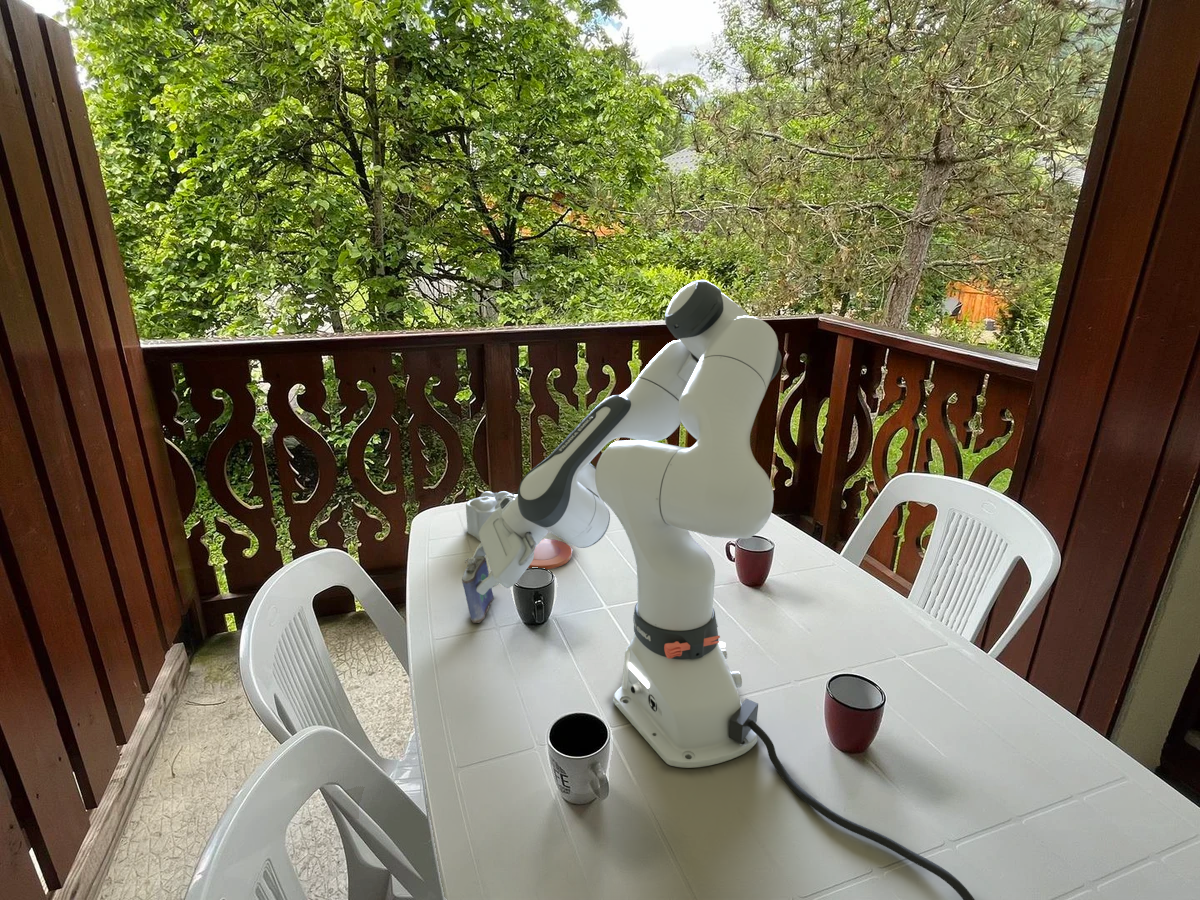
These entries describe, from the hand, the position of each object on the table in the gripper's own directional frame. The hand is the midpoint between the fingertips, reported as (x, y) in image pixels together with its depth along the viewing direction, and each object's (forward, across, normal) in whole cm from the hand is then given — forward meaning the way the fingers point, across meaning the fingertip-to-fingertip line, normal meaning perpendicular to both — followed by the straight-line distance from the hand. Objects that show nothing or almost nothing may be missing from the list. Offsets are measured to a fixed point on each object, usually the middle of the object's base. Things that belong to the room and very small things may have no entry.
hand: (474, 578), depth 117 cm
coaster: (-7, +18, -17) cm, 26 cm away
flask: (+4, 0, -6) cm, 7 cm away
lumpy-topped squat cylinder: (-2, +35, -12) cm, 37 cm away
